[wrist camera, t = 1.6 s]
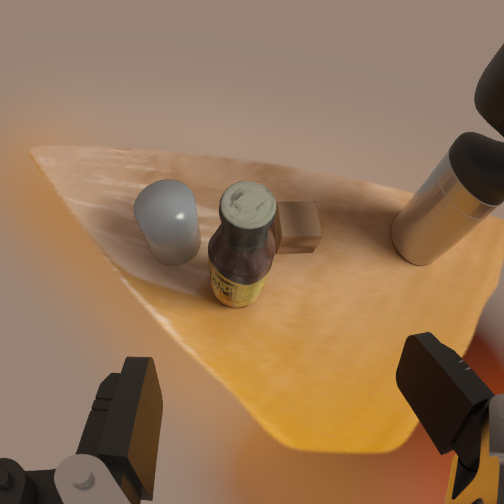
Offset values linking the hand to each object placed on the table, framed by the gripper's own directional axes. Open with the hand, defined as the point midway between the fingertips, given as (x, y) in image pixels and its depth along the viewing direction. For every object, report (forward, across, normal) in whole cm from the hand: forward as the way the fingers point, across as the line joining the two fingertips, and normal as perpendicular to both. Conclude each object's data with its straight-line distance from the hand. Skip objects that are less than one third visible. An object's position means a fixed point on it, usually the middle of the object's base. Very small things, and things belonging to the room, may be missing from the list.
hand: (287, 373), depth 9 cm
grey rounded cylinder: (+34, +8, +7) cm, 36 cm away
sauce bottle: (+29, 0, +12) cm, 31 cm away
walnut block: (+34, -8, +7) cm, 36 cm away
